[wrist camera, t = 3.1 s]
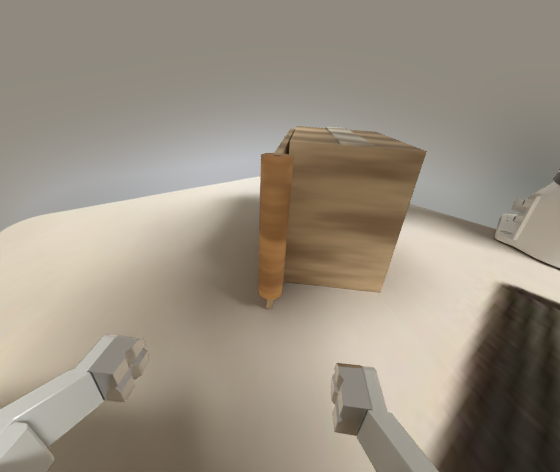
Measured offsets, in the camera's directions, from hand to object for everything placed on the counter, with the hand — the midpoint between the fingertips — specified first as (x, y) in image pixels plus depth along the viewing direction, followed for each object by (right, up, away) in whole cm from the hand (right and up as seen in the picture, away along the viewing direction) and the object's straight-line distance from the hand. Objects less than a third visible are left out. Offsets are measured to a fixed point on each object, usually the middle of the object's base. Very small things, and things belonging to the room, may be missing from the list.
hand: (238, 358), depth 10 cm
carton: (+9, +3, +27) cm, 28 cm away
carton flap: (+2, +3, +24) cm, 25 cm away
